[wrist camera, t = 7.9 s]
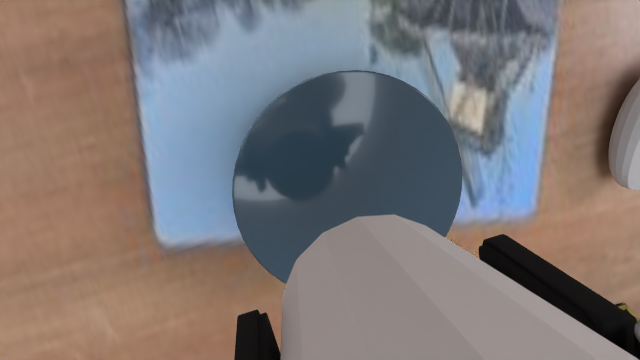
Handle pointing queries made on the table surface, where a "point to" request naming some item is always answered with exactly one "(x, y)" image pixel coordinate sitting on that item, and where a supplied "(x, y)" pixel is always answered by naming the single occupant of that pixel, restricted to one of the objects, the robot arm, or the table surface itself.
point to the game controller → (627, 142)
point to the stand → (342, 164)
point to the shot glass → (418, 303)
